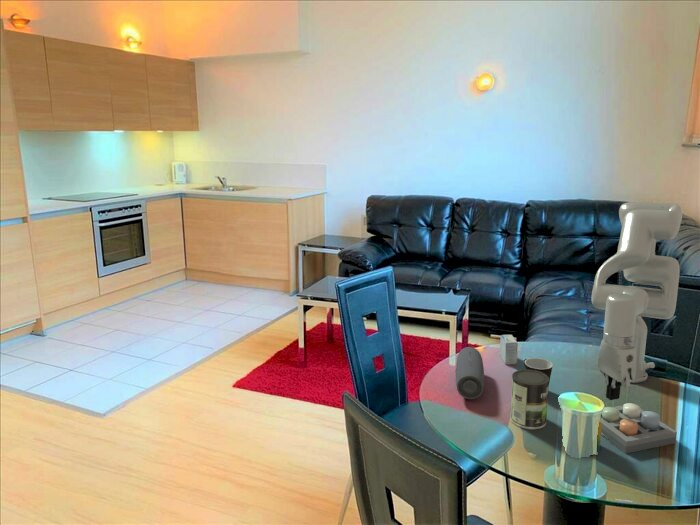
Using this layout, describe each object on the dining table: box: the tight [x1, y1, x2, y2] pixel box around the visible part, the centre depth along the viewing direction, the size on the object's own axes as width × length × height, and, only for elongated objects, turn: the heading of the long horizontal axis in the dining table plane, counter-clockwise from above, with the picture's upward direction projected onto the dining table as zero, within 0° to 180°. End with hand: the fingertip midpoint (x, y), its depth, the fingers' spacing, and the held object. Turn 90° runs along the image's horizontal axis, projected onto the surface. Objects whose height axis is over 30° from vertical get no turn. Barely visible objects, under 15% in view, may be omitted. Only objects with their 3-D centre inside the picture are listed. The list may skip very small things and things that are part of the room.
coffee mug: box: [523, 357, 554, 383], centre depth 177 cm, size 12×9×10 cm
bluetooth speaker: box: [454, 346, 485, 400], centre depth 180 cm, size 23×9×10 cm, turn 168°
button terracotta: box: [619, 419, 638, 437], centre depth 147 cm, size 4×4×3 cm
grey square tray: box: [600, 404, 677, 454], centre depth 151 cm, size 16×16×4 cm
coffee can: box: [510, 368, 551, 430], centre depth 158 cm, size 10×10×14 cm
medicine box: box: [499, 334, 519, 366], centre depth 199 cm, size 8×4×9 cm, turn 179°
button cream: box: [622, 402, 642, 419], centre depth 155 cm, size 4×4×3 cm
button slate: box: [641, 410, 661, 430], centre depth 148 cm, size 4×4×3 cm
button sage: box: [602, 406, 620, 423], centre depth 153 cm, size 4×4×3 cm
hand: (612, 398), depth 153 cm, fingers closed
